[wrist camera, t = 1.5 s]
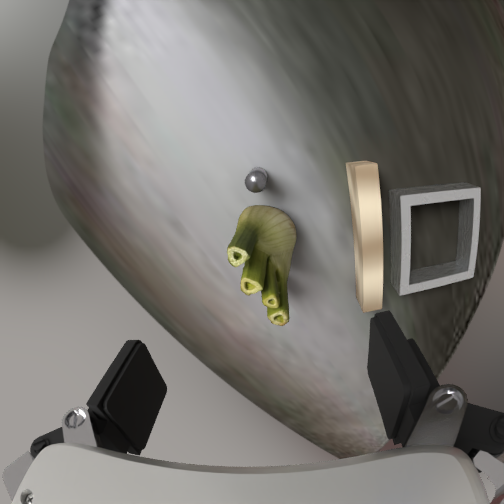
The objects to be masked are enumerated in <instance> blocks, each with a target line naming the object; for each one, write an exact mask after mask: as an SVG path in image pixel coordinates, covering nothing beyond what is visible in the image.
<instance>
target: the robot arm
mask: <svg viewBox="0 0 504 504" xmlns="http://www.w3.org/2000/svg"><path fill="white" fill-rule="evenodd" d="M367 369H368V375H369V378H370V381H371V384H372V387H373V390H374V394H375V397H376V400H377V403H378V406H379V410H380V413H381V416H382V420H383V423H384V427H385V430H386V434H387V437H388V439H393V442H394V445H396V444H399V443H402V446H403V447H402V448H396V449H391V450H386V451H381V452H376V453H371V454H366V455H361V456H356V457H350V458H345V459H338V460H332V461H325V462H317V463H309V464H300V465H287V466H269V467H225V466H207V465H195V464H185V463H177V462H169V461H162V460H155V459H150V458H144V457H139V456H134V455H129V454H127V451H128V452H129V453H131V454H135V455H140V453H141V451H142V450H143V449H144V448H145V446H146V444H147V441H148V439H149V436H150V433H151V431H152V428H153V426H154V423H155V421H156V418H157V415H158V413H159V410H160V408H161V405H162V402H163V400H164V398H165V395H166V392H167V386H166V384H165V382H164V380H163V378H162V376H161V374H160V373H159V371H158V369H157V367H156V365H155V363H154V361H153V359H152V358H151V355H150V353H149V351H148V349H147V347H146V345H145V344H144V343H142V342H141V341H140V340H128V341H126V343H125V344H124V346H123V347H122V349H121V350H120V352H119V353H118V355H117V357H116V358H115V359H114V361H113V363H112V364H111V365H110V367H109V369H108V370H107V372H106V373H105V375H104V376H103V378H102V380H101V381H100V383H99V384H98V386H97V388H96V389H95V391H94V392H93V394H92V396H91V397H90V399H89V400H88V402H87V406H88V407H89V409H88V410H86V409H85V408H83V407H75V408H72V409H71V410H69V411H68V412H67V413H66V414H65V415H64V417H63V419H62V427H61V428H58V429H56V430H54V431H52V432H49V433H47V434H45V435H43V436H40V437H38V438H37V439H35V440H34V442H33V443H32V445H31V453H30V452H29V451H27V452H26V453H25V454H23V455H22V456H21V457H19V458H18V459H17V460H15V461H14V462H13V463H12V464H10V465H9V466H7V467H6V469H5V470H4V472H3V481H4V483H5V486H6V488H7V491H8V493H9V495H10V498H11V500H12V504H504V413H502V412H498V411H494V410H491V409H487V408H484V407H480V406H476V405H473V404H470V403H467V401H468V399H467V395H466V393H465V392H464V391H463V390H462V389H461V388H460V387H458V386H456V385H450V384H446V385H441V386H440V385H439V383H438V381H437V379H436V378H435V376H434V374H433V372H432V370H431V368H430V367H429V365H428V363H427V361H426V359H425V358H424V356H423V354H422V352H421V351H420V349H419V347H418V346H417V344H416V342H415V341H414V340H413V339H408V340H407V339H406V337H405V336H404V334H403V332H402V330H401V329H400V327H399V325H398V324H397V322H396V320H395V319H394V317H393V315H392V314H391V312H390V311H384V312H380V313H376V314H375V317H374V318H371V320H370V339H369V354H368V366H367ZM480 472H483V473H485V474H486V475H487V476H488V478H487V479H488V480H490V481H491V482H492V483H493V484H494V485H495V489H496V492H495V497H494V499H493V500H492V502H491V503H489V499H488V496H487V493H486V490H485V487H484V484H483V482H482V479H481V477H480V475H479V473H480Z"/></svg>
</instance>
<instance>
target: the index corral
mask: <svg viewBox="0 0 504 504" xmlns="http://www.w3.org/2000/svg"><path fill="white" fill-rule="evenodd" d="M388 191H389V206H390V228H391V277H390V283H391V284H392V286H393V287H394V288H395V290H396V291H397V293H398V294H399V296H400V295H405V294H409V293H414V292H418V291H422V290H427V289H431V288H435V287H439V286H443V285H447V284H451V283H454V282H458V281H462V280H465V279H469V278H473V276H474V269H475V263H476V255H477V246H478V236H479V223H480V195H481V188H480V187H477V186H475V185H472V184H469V183H466V182H464V183H452V184H441V185H430V186H420V187H411V188H402V189H393V190H388ZM453 200H459V228H458V243H457V255H456V261H451V262H447V263H443V264H438V265H434V266H429V267H424V268H419V269H415V270H410V255H411V208H410V206H413V205H421V204H429V203H437V202H445V201H453Z"/></svg>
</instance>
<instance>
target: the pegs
mask: <svg viewBox="0 0 504 504" xmlns="http://www.w3.org/2000/svg"><path fill="white" fill-rule="evenodd" d="M266 182H267V172H266V171H265V170H264V169H263V168H260V167H256V168H254V169H252V170H251V172H250V173H249V174H248V176H247V177H246V179H245V185H246V187H247V189H248V190H249V191H251V192H254V193H257V192H261V191H262V190H263V189H264V188H265V186H266Z"/></svg>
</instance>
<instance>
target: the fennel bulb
mask: <svg viewBox="0 0 504 504" xmlns="http://www.w3.org/2000/svg"><path fill="white" fill-rule="evenodd" d="M296 237H297V234H296V229H295V225H294V223H293V222H292V220H291V219H290V218H289V216H288V215H287V214H285V213H284V212H283V211H281V210H279V209H277V208H274V207H270V206H264V205H255V206H249V207H247V208H246V209H245V210H244V211H243V212H242V214H241V215H240V217H239V221H238V225H237V228H236V232H235V235H234V237H233V239H232V241H231V242H230V244H229V245H228V249H227V254H228V261H229V263H230V264H231V265H232V266H234V267H238V266H239V265H241V264H243V263H244V262H245V266H244V268H243V273H242V277H241V291H242V292H244V293H245V294H246V295H250V294H255V293H257V292H258V291H261V293H262V303H263V304H264V305H265V306H267V317H268V319H269V320H270V321H271V323H272V324H276V325H280V326H283V325H285V324H286V323H287V322H289V304H288V293H287V279H288V275H289V271H290V265H291V259H292V253H293V249H294V246H295V243H296Z"/></svg>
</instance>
